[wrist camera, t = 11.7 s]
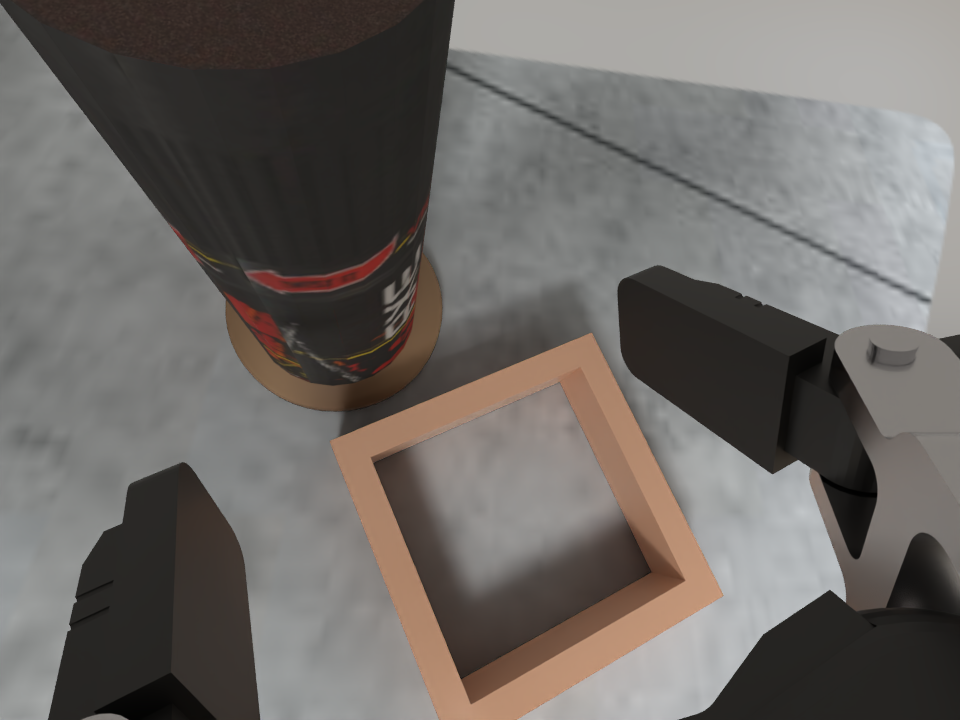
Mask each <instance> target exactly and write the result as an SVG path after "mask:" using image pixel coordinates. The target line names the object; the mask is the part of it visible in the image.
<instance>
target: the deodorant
mask: <svg viewBox="0 0 960 720" xmlns="http://www.w3.org/2000/svg"><path fill="white" fill-rule="evenodd" d="M454 2H455V0H0V3H1V5H2V6H3V7H4V9H5V10H6V11H7V13H8V14H9V15H10V17H11V18H12V19H13V20H14V22H15V23H16V24H17V26H18V27H19V28H20V30H21V31H22V32H23V34H24V35H25V36H26V38H27V39H28V40H29V41H30V43H31V44H32V45H33V47H34V48H35V49H36V51H37V52H38V53H39V55H40V56H41V57H42V59H43V60H44V61H45V62H46V64H47V65H48V66H49V68H50V69H51V70H52V72H53V73H54V74H55V76H56V77H57V78H58V80H59V81H60V82H61V83H62V85H63V86H64V87H65V89H66V90H67V91H68V93H69V94H70V95H71V97H72V98H73V99H74V101H75V102H76V103H77V104H78V106H79V107H80V108H81V110H82V111H83V112H84V114H85V115H86V116H87V118H88V119H89V120H90V122H91V123H92V124H93V125H94V127H95V128H96V129H97V131H98V132H99V133H100V135H101V136H102V137H103V139H104V140H105V141H106V143H107V144H108V145H109V146H110V148H111V149H112V150H113V152H114V153H115V154H116V156H117V157H118V158H119V160H120V161H121V162H122V164H123V165H124V166H125V167H126V169H127V170H128V171H129V173H130V174H131V175H132V177H133V178H134V179H135V181H136V182H137V183H138V185H139V186H140V187H141V188H142V190H143V191H144V192H145V194H146V195H147V196H148V198H149V199H150V200H151V202H152V203H153V204H154V206H155V207H156V208H157V209H158V211H159V212H160V213H161V215H162V216H163V217H164V219H165V220H166V221H167V223H168V224H169V225H170V227H171V228H172V229H173V230H174V232H175V233H176V234H177V236H178V237H179V238H180V240H181V241H182V242H183V244H184V245H185V246H186V248H187V249H188V250H189V251H190V253H191V254H192V255H193V257H194V258H195V259H196V261H197V262H198V263H199V265H200V266H201V267H202V269H203V270H204V271H205V272H206V274H207V275H208V276H209V278H210V279H211V280H212V282H213V283H214V284H215V286H216V287H217V288H218V290H219V291H220V292H221V293H222V295H223V296H224V297H225V299H226V300H227V301H228V303H229V304H230V305H231V307H232V308H233V309H234V311H235V312H236V313H237V314H238V316H239V317H240V318H241V320H242V321H243V322H244V324H245V325H246V326H247V328H248V329H249V330H250V332H251V333H252V334H253V335H254V337H255V338H256V339H257V341H258V342H259V343H260V345H261V346H262V347H263V349H264V350H265V351H266V353H267V354H268V355H269V356H270V358H271V359H272V360H273V362H274V363H276V364H277V365H278V366H280V367H281V368H282V369H284V370H285V371H286V372H288V373H289V374H290V375H292V376H295V377H297V378H300V379H302V380H305V381H307V382H310V383H315V384H322V385H330V386H335V385H343V384H352V383H356V382H359V381H361V380H364V379H366V378H369V377H372V376H374V375H376V374H377V373H378V372H380V371H381V370H383V369H384V368H385V367H387V366H388V365H390V364H391V363H392V362H393V361H394V359H395V358H396V357H397V356H398V355H399V353H400V352H401V351H402V350H403V349H404V347H405V345H406V342H407V340H408V338H409V336H410V333H411V331H412V326H413V319H414V312H415V304H416V297H417V289H418V281H419V273H420V266H421V258H422V250H423V242H424V235H425V227H426V219H427V211H428V204H429V196H430V188H431V180H432V173H433V165H434V157H435V149H436V142H437V134H438V126H439V118H440V111H441V103H442V95H443V88H444V80H445V72H446V64H447V57H448V49H449V41H450V33H451V26H452V18H453V10H454Z"/></svg>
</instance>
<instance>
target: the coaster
mask: <svg viewBox="0 0 960 720" xmlns="http://www.w3.org/2000/svg"><path fill="white" fill-rule="evenodd" d="M441 321H442V297H441V291H440V287H439V283H438V280H437V277H436V275H435V272H434V270H433V268H432V266H431V264H430V262H429V261H428V259H427V258H426V256H425V255H424V254H423V252H422V258H421V266H420V273H419V281H418V289H417V297H416V304H415V312H414V319H413V326H412V331H411V333H410V336H409V338H408V340H407V342H406V345H405V347H404V349H403V350H402V351H401V352H400V353H399V355H398V356H397V357H396V358H395V359H394V361H393V362H392V363H391V364H390V365H388V366H387V367H385V368H384V369H383V370H381V371H380V372H378V373H377V374H376V375H374V376H372V377H369V378H366V379H364V380H361V381H359V382H356V383H352V384H343V385H335V386H330V385H322V384H315V383H310V382H307V381H305V380H302V379H300V378H297V377H295V376H292V375H290V374H289V373H288V372H286V371H285V370H284V369H282V368H281V367H280V366H278V365H277V364H276V363H274V362H273V360H272V359H271V358H270V356H269V355H268V354H267V353H266V351H265V350H264V349H263V347H262V346H261V345H260V343H259V342H258V341H257V339H256V338H255V337H254V335H253V334H252V333H251V332H250V330H249V329H248V328H247V326H246V325H245V324H244V322H243V321H242V320H241V318H240V317H239V316H238V314H237V313H236V312H235V311H234V309H233V308H232V307H231V305H230V304H229V303H228V301H227V300H226V322H227V329H228V333H229V336H230V339H231V343H232V345H233V347H234V349H235V351H236V353H237V355H238V357H239V358H240V360H241V362H242V363H243V365H244V366H245V367H246V368H247V370H248V371H249V372H250V373H251V374H252V375H253V376H254V378H255V379H256V380H258V381H259V382H260V383H261V384H262V385H263V386H264V387H266V388H267V389H268V390H269V391H271V392H272V393H274V394H275V395H277V396H279V397H280V398H282V399H284V400H286V401H288V402H291V403H293V404H296V405H299V406H302V407H305V408H309V409H314V410H320V411H334V412H337V411H350V410H355V409H360V408H365V407H368V406H371V405H374V404H377V403H379V402H381V401H383V400H385V399H387V398H390V397H391V396H393V395H394V394H396V393H397V392H399V391H400V390H402V389H403V388H404V387H405V386H407V385H408V384H409V383H410V382H411V381H412V380H413V379H414V378H415V377H416V376H417V375H418V374H419V373H420V371H421V370H422V369H423V367H424V366H425V364H426V363H427V361H428V360H429V358H430V356H431V354H432V352H433V350H434V347H435V344H436V341H437V338H438V335H439V332H440V326H441Z"/></svg>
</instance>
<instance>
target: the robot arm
mask: <svg viewBox="0 0 960 720" xmlns="http://www.w3.org/2000/svg"><path fill="white" fill-rule="evenodd" d="M618 311H619V328H620V344H621V353H622V356H623V359H624V361H625V363H626V365H627V367H628V369H629V370H630V371H631V373H632V374H633V375H634V376H635V377H637V378H638V379H639V380H641V381H642V382H643V383H645V384H646V385H648V386H649V387H650V388H652V389H653V390H655V391H656V392H657V393H659V394H660V395H662V396H663V397H664V398H666V399H667V400H669V401H670V402H672V403H673V404H674V405H676V406H677V407H679V408H680V409H681V410H683V411H684V412H686V413H687V414H688V415H690V416H691V417H693V418H694V419H695V420H697V421H698V422H700V423H701V424H702V425H704V426H705V427H707V428H708V429H709V430H711V431H712V432H714V433H715V434H716V435H718V436H719V437H721V438H722V439H723V440H725V441H726V442H728V443H729V444H730V445H732V446H733V447H735V448H736V449H737V450H739V451H740V452H742V453H743V454H745V455H746V456H747V457H749V458H750V459H752V460H753V461H754V462H756V463H757V464H759V465H760V466H761V467H763V468H764V469H766V470H767V471H768V472H770V473H771V474H774V473H776V472H777V471H779V470H781V469H783V468H784V467H786V466H788V465H790V464H791V463H793V462H795V461H797V460H799V461H801V462H802V463H804V464H805V465H807V466H809V467H810V472H809V481H810V485H811V488H812V491H813V493H814V496H815V499H816V502H817V504H818V507H819V510H820V513H821V515H822V518H823V521H824V524H825V527H826V529H827V532H828V535H829V538H830V540H831V543H832V546H833V549H834V552H835V554H836V557H837V560H838V563H839V565H840V568H841V571H842V574H843V578H844V583H845V589H846V603H845V602H844V601H843V600H842V599H840V598H839V597H838V596H837V595H836V594H834V593H833V592H832V591H831V590H829V591H828V592H826V593H825V594H823V595H822V596H820V597H819V598H817V599H816V600H814V601H813V602H811V603H810V604H808V605H807V606H805V607H804V608H802V609H801V610H799V611H798V612H796V613H795V614H793V615H792V616H790V617H789V618H787V619H786V620H784V621H783V622H781V623H780V624H778V625H777V626H775V627H774V628H772V629H771V630H769V631H768V632H766V633H765V634H763V636H762V637H761V638H760V640H759V641H758V642H757V644H756V645H755V647H754V648H753V649H752V651H751V652H750V653H749V655H748V656H747V658H746V659H745V660H744V662H743V663H742V664H741V666H740V667H739V668H738V670H737V671H736V673H735V674H734V675H733V677H732V678H731V679H730V681H729V682H728V684H727V685H726V686H725V688H724V689H723V690H722V692H721V693H720V695H719V696H718V697H717V699H716V700H715V701H714V703H713V704H712V705H711V706H710V707H709V708H708V709H706V710H705V711H703V712H701V713H699V714H696V715H692V716H689V717H686V718H682V719H679V720H960V335H955V336H950V337H946V338H940V339H938V338H936V337H933V336H932V335H930V334H927V333H924V332H922V331H918V330H915V329H911V328H907V327H901V326H894V325H866V326H860V327H856V328H852V329H849V330H847V331H845V332H843V333H842V334H841V335H838V334H836V333H833V332H831V331H828V330H826V329H824V328H821V327H819V326H817V325H814V324H812V323H810V322H807V321H805V320H802V319H800V318H798V317H795V316H793V315H791V314H788V313H786V312H784V311H781V310H779V309H776V308H774V307H772V306H769V305H767V304H766V305H764V306H763V305H762V303H761V302H760V301H758V300H755V299H753V298H750V297H748V296H745V297H743V296H742V294H741V293H739V292H736V291H734V290H732V289H729V288H727V287H724V286H722V285H720V284H716V283H710V282H704V281H699V280H694V279H691V278H689V277H687V276H684V275H682V274H680V273H677V272H675V271H673V270H671V269H668V268H666V267H664V266H659V265H657V266H653V267H651V268H649V269H646V270H644V271H641V272H639V273H636V274H634V275H632V276H629V277H627V278H624V279H623V280H622V281H621V282H620V283H619V286H618ZM75 597H76V599H77V602H76V603H74V605H73V610H72V614H71V619H70V623H69V625H70V627H71V630H70V631H68V632H67V637H66V641H65V646H64V650H63V655H62V659H61V664H60V668H59V673H58V677H57V682H56V686H55V691H54V695H53V700H52V704H51V709H50V713H49V718H48V720H260V713H259V703H258V693H257V683H256V673H255V663H254V653H253V643H252V633H251V623H250V613H249V603H248V593H247V584H246V574H245V564H244V559H243V555H242V551H241V548H240V545H239V542H238V540H237V538H236V535H235V533H234V531H233V530H232V528H231V526H230V525H229V523H228V522H227V520H226V519H225V517H224V516H223V514H222V513H221V511H220V510H219V508H218V507H217V505H216V504H215V502H214V501H213V499H212V498H211V496H210V495H209V493H208V492H207V490H206V489H205V487H204V486H203V484H202V483H201V481H200V480H199V478H198V477H197V475H196V474H195V472H194V471H193V470H192V468H191V467H190V466H189V465H188V464H186V463H184V462H182V463H179V464H177V465H174V466H172V467H170V468H167V469H165V470H162V471H160V472H157V473H155V474H153V475H150V476H148V477H145V478H143V479H140V480H138V481H136V482H133V483H131V484H130V485H129V487H128V491H127V497H126V504H125V510H124V517H123V523H122V524H120V525H118V526H116V527H113V528H111V529H109V530H106V531H104V532H103V534H102V535H101V537H100V538H99V540H98V542H97V543H96V545H95V546H94V548H93V549H92V551H91V552H90V554H89V556H88V557H87V559H86V560H85V562H84V563H83V565H82V569H81V574H80V578H79V583H78V587H77V592H76V596H75Z"/></svg>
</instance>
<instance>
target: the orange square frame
mask: <svg viewBox="0 0 960 720" xmlns="http://www.w3.org/2000/svg"><path fill="white" fill-rule="evenodd" d="M558 382H560V383H561V386H562V388H563V390H564V392H565V394H566V396H567V398H568V400H569V402H570V404H571V406H572V408H573V410H574V413H575V415H576V417H577V419H578V421H579V423H580V425H581V427H582V429H583V431H584V433H585V435H586V437H587V440H588V442H589V444H590V446H591V448H592V450H593V452H594V454H595V456H596V458H597V460H598V462H599V464H600V466H601V469H602V471H603V473H604V475H605V477H606V479H607V481H608V483H609V485H610V487H611V489H612V491H613V493H614V496H615V498H616V500H617V502H618V504H619V506H620V508H621V510H622V512H623V514H624V516H625V518H626V520H627V522H628V525H629V527H630V529H631V531H632V533H633V535H634V537H635V539H636V541H637V543H638V545H639V547H640V549H641V552H642V554H643V556H644V558H645V560H646V562H647V564H648V566H649V568H650V570H651V573H649V574H648V575H646V576H644V577H642V578H641V579H639V580H637V581H635V582H633V583H632V584H630V585H628V586H626V587H625V588H623V589H621V590H619V591H617V592H616V593H614V594H612V595H610V596H609V597H607V598H605V599H603V600H601V601H600V602H598V603H596V604H594V605H593V606H591V607H589V608H587V609H585V610H584V611H582V612H580V613H578V614H577V615H575V616H573V617H571V618H569V619H568V620H566V621H564V622H562V623H560V624H559V625H557V626H555V627H553V628H552V629H550V630H548V631H546V632H544V633H543V634H541V635H539V636H537V637H536V638H534V639H532V640H530V641H528V642H527V643H525V644H523V645H521V646H520V647H518V648H516V649H514V650H512V651H511V652H509V653H507V654H505V655H504V656H502V657H500V658H498V659H496V660H495V661H493V662H491V663H489V664H488V665H486V666H484V667H482V668H480V669H479V670H477V671H475V672H473V673H471V674H470V675H468V676H466V677H464V678H463V679H460V676H459V674H458V671H457V669H456V667H455V664H454V662H453V659H452V657H451V654H450V652H449V649H448V647H447V644H446V642H445V639H444V637H443V635H442V632H441V630H440V627H439V625H438V622H437V620H436V617H435V615H434V612H433V610H432V607H431V605H430V603H429V600H428V598H427V595H426V593H425V590H424V588H423V585H422V583H421V580H420V578H419V575H418V573H417V570H416V568H415V566H414V563H413V561H412V558H411V556H410V553H409V551H408V548H407V546H406V543H405V541H404V538H403V536H402V534H401V531H400V529H399V526H398V524H397V521H396V519H395V516H394V514H393V511H392V509H391V506H390V504H389V502H388V499H387V497H386V494H385V492H384V489H383V487H382V484H381V482H380V479H379V477H378V474H377V472H376V469H375V467H374V465H373V463H374V462H376V461H379V460H381V459H383V458H385V457H388V456H390V455H392V454H395V453H397V452H399V451H402V450H404V449H406V448H409V447H411V446H413V445H415V444H418V443H420V442H422V441H425V440H427V439H429V438H432V437H434V436H436V435H438V434H441V433H443V432H445V431H448V430H450V429H452V428H455V427H457V426H459V425H462V424H464V423H466V422H468V421H471V420H473V419H475V418H478V417H480V416H482V415H485V414H487V413H489V412H492V411H494V410H496V409H498V408H501V407H503V406H505V405H508V404H510V403H512V402H515V401H517V400H519V399H522V398H524V397H526V396H528V395H531V394H533V393H535V392H538V391H540V390H542V389H545V388H547V387H549V386H552V385H554V384H556V383H558ZM330 444H331V446H332V449H333V451H334V454H335V456H336V459H337V461H338V464H339V466H340V469H341V472H342V474H343V477H344V479H345V482H346V484H347V487H348V489H349V492H350V494H351V497H352V499H353V502H354V505H355V507H356V510H357V512H358V515H359V517H360V520H361V522H362V525H363V527H364V530H365V532H366V535H367V537H368V540H369V543H370V545H371V548H372V550H373V553H374V555H375V558H376V560H377V563H378V565H379V568H380V570H381V573H382V576H383V578H384V581H385V583H386V586H387V588H388V591H389V593H390V596H391V598H392V601H393V603H394V606H395V609H396V611H397V614H398V616H399V619H400V621H401V624H402V626H403V629H404V631H405V634H406V636H407V639H408V641H409V644H410V647H411V649H412V652H413V654H414V657H415V659H416V662H417V664H418V667H419V669H420V672H421V674H422V677H423V680H424V682H425V685H426V687H427V690H428V692H429V695H430V697H431V700H432V702H433V705H434V707H435V710H436V713H437V715H438V718H439V720H517V719H518V718H520V717H522V716H523V715H525V714H527V713H528V712H530V711H532V710H534V709H535V708H537V707H539V706H540V705H542V704H544V703H545V702H547V701H549V700H550V699H552V698H554V697H555V696H557V695H559V694H560V693H562V692H564V691H565V690H567V689H569V688H570V687H572V686H574V685H575V684H577V683H579V682H580V681H582V680H584V679H585V678H587V677H589V676H590V675H592V674H594V673H595V672H597V671H599V670H600V669H602V668H604V667H605V666H607V665H609V664H610V663H612V662H614V661H615V660H617V659H619V658H620V657H622V656H624V655H625V654H627V653H629V652H630V651H632V650H634V649H635V648H637V647H639V646H640V645H642V644H644V643H645V642H647V641H649V640H650V639H652V638H654V637H655V636H657V635H659V634H660V633H662V632H664V631H665V630H667V629H669V628H670V627H672V626H674V625H675V624H677V623H679V622H680V621H682V620H684V619H685V618H687V617H689V616H690V615H692V614H694V613H695V612H697V611H699V610H700V609H702V608H704V607H706V606H707V605H709V604H711V603H712V602H714V601H716V600H717V599H719V598H721V597H722V596H724V595H723V593H722V591H721V589H720V587H719V585H718V583H717V581H716V579H715V577H714V575H713V573H712V571H711V569H710V567H709V565H708V563H707V561H706V559H705V557H704V555H703V553H702V551H701V549H700V547H699V545H698V543H697V541H696V539H695V537H694V535H693V533H692V531H691V529H690V527H689V525H688V523H687V521H686V519H685V517H684V515H683V513H682V511H681V509H680V507H679V505H678V503H677V501H676V499H675V498H674V496H673V494H672V492H671V490H670V488H669V486H668V484H667V482H666V480H665V478H664V476H663V474H662V472H661V470H660V468H659V466H658V464H657V462H656V460H655V458H654V456H653V454H652V452H651V450H650V448H649V446H648V444H647V442H646V440H645V438H644V436H643V434H642V432H641V430H640V428H639V426H638V424H637V422H636V420H635V418H634V416H633V414H632V412H631V410H630V408H629V406H628V404H627V402H626V400H625V398H624V396H623V394H622V392H621V390H620V388H619V386H618V384H617V382H616V380H615V378H614V376H613V374H612V372H611V370H610V368H609V366H608V364H607V362H606V360H605V358H604V356H603V354H602V352H601V350H600V348H599V346H598V344H597V342H596V340H595V338H594V336H593V334H592V333H589V334H587V335H585V336H582V337H580V338H577V339H575V340H572V341H570V342H568V343H565V344H563V345H560V346H558V347H556V348H553V349H551V350H548V351H546V352H543V353H541V354H539V355H536V356H534V357H531V358H529V359H527V360H524V361H522V362H519V363H517V364H515V365H512V366H510V367H507V368H505V369H502V370H500V371H498V372H495V373H493V374H490V375H488V376H486V377H483V378H481V379H478V380H476V381H473V382H471V383H469V384H466V385H464V386H461V387H459V388H457V389H454V390H452V391H449V392H447V393H444V394H442V395H440V396H437V397H435V398H432V399H430V400H428V401H425V402H423V403H420V404H418V405H416V406H413V407H411V408H408V409H406V410H403V411H401V412H399V413H396V414H394V415H391V416H389V417H387V418H384V419H382V420H379V421H377V422H374V423H372V424H370V425H367V426H365V427H362V428H360V429H358V430H355V431H353V432H350V433H348V434H345V435H343V436H341V437H338V438H336V439H333V440H331V441H330Z"/></svg>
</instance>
